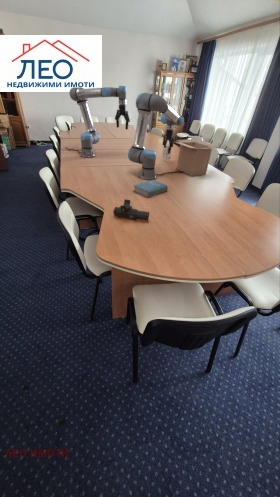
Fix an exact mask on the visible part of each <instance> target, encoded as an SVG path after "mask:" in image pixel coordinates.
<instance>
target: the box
mask: <svg viewBox="0 0 280 497" xmlns="http://www.w3.org/2000/svg"><path fill="white" fill-rule="evenodd" d="M174 143H176V144H178V145H179V149H178V158H177V164H176V169H177V170H178V171H179V172H182V173H184V174H187V175H188V176H190V177H196V176H197V177H198V176H205V175H207V172H208V168H209V162H210V158H211V154H212V150H213V149H215V148H220V146H219V145H215V144H214V143H213V144H212V143H209V142H207V141H203V140H197V141H193V140H191V139H176V140H175V141H174Z"/></svg>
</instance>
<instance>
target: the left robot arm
mask: <svg viewBox="0 0 280 497" xmlns="http://www.w3.org/2000/svg"><path fill="white" fill-rule="evenodd" d="M68 94H69V97H70V99H71V100H72V101H74V102H76V104H77V105H78V106H79V109H80V113H81V117H82V119H83V123H84V126H85V130H86V131H85V132H82V133H81V134H80V143H81V151H79V150H77V149H73V148H68V147H67V146H65V149H66V150H70V151H75V152H77V153H79V154H80V157H82V158H88V159H89V158H94V157H95V152H94V149H93V145H96V144H98V143H99V142H100V139H101V137H100V134H99V133H98V132H97V130H96V128H94V122H93V120H92V117H91V113H90V109H89V106H88V103H89V101H88V100H89V99H97V98H118V109H116V113H115V116H114V120H115V124H116V128H120V118H121V116H122V117H123V118H124V120H125V130H128V129H129V123H130V122H131V119H130V116H129V110H127V86H125V85H118V87H111V86H110V87H108V86H105V87H94V88H93V87H92V88H91V87H90V88H84V87H79V86H78V87H71V88H70V89H69V93H68Z"/></svg>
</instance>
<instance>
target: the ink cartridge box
mask: <svg viewBox="0 0 280 497" xmlns="http://www.w3.org/2000/svg"><path fill="white" fill-rule="evenodd" d="M166 146H167V147H166V148H164V147H163V149H162V150H163V151H162V158H161V159H162V160H164V161H169V160H170V159H171V155H172V153H171V152H172V150H171V151H170V154H168V149H169V145H166Z"/></svg>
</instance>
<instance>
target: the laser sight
mask: <svg viewBox="0 0 280 497" xmlns="http://www.w3.org/2000/svg"><path fill="white" fill-rule="evenodd" d="M112 213H113V216H114V217H117V218H121V219H126V220H133V221H137V220H139V221H145V222H149V218H150V211H145V210H139V209H137V208H133V206H132V205H131V199H124V201H123V204H122V205H120V206H115V207H114V208H113V211H112Z"/></svg>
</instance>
